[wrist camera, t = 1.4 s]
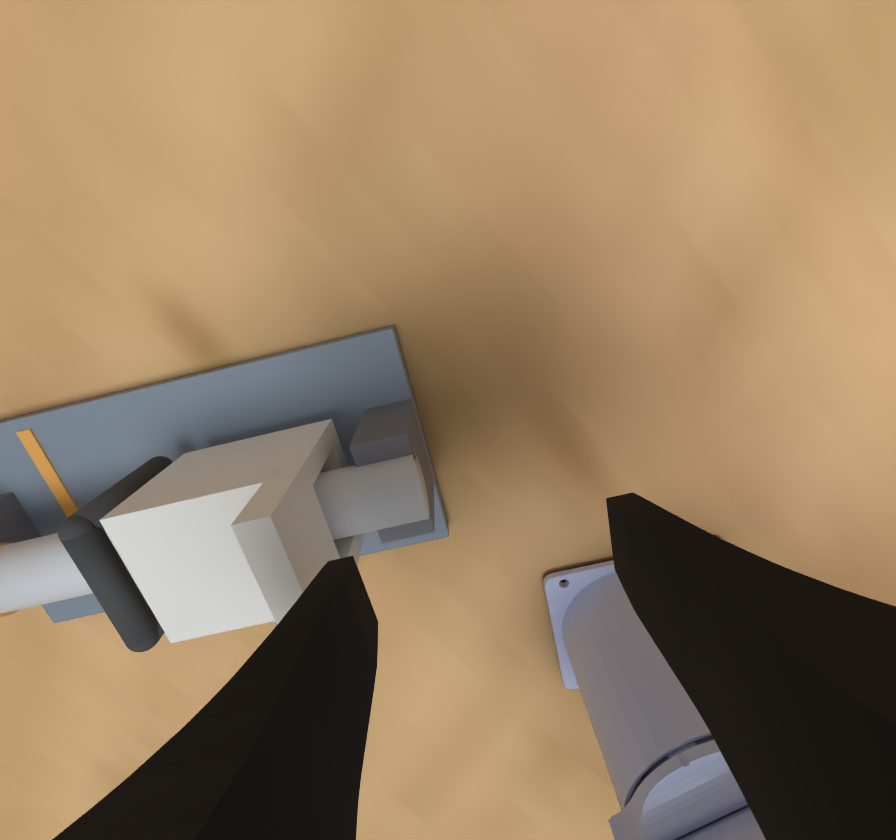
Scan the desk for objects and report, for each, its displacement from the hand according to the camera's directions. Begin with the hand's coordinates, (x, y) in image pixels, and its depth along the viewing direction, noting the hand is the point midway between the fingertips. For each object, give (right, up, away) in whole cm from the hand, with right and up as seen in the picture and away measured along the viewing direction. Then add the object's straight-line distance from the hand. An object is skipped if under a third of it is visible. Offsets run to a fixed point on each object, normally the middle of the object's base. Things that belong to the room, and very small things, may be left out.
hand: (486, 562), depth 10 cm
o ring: (-12, 0, +8) cm, 14 cm away
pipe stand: (-12, 0, +11) cm, 16 cm away
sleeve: (-8, 0, +8) cm, 11 cm away
